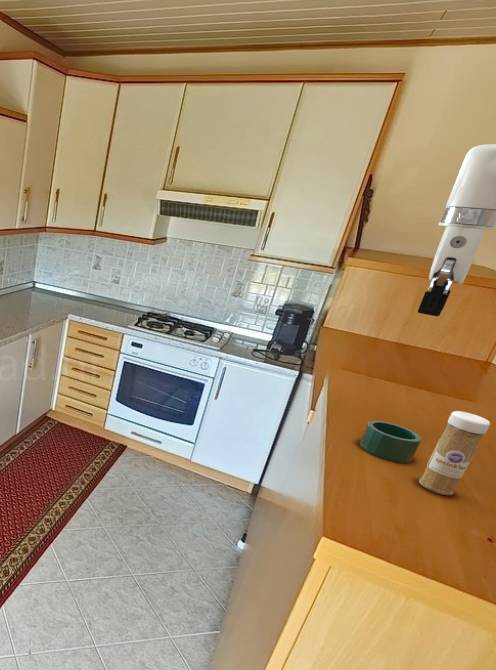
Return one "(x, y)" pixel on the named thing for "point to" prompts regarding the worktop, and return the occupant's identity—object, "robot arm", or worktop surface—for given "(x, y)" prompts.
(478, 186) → the robot arm
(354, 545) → the worktop surface
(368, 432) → the holder
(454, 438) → the sprinkles bottle
